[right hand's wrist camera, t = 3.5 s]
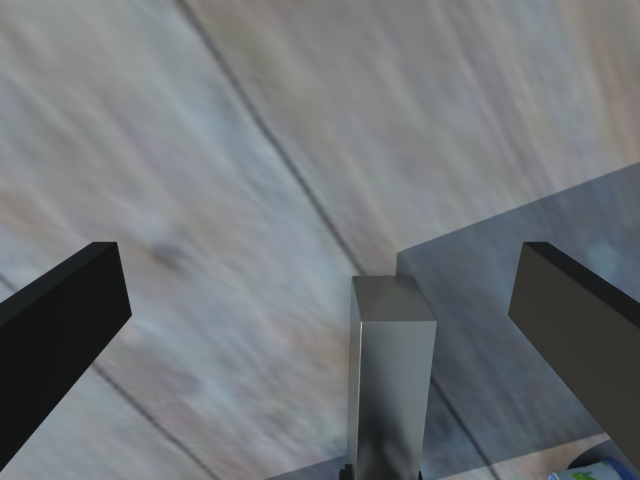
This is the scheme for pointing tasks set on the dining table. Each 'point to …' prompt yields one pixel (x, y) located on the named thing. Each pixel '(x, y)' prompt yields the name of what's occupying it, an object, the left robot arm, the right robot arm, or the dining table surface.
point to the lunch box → (596, 472)
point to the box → (388, 377)
